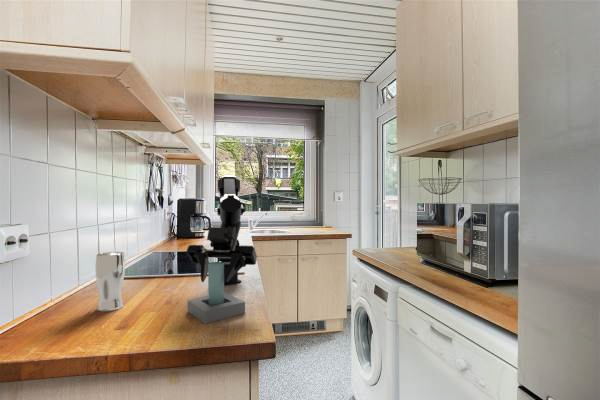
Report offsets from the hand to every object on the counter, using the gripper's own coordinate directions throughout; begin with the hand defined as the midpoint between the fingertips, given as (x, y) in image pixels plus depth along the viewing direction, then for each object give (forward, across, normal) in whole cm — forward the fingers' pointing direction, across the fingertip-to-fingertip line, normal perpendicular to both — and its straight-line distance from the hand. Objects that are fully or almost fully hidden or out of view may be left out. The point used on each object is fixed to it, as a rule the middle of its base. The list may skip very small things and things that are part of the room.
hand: (214, 281), depth 83 cm
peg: (+5, 0, +7) cm, 9 cm away
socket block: (+5, 0, +7) cm, 9 cm away
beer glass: (+5, -30, +8) cm, 32 cm away
